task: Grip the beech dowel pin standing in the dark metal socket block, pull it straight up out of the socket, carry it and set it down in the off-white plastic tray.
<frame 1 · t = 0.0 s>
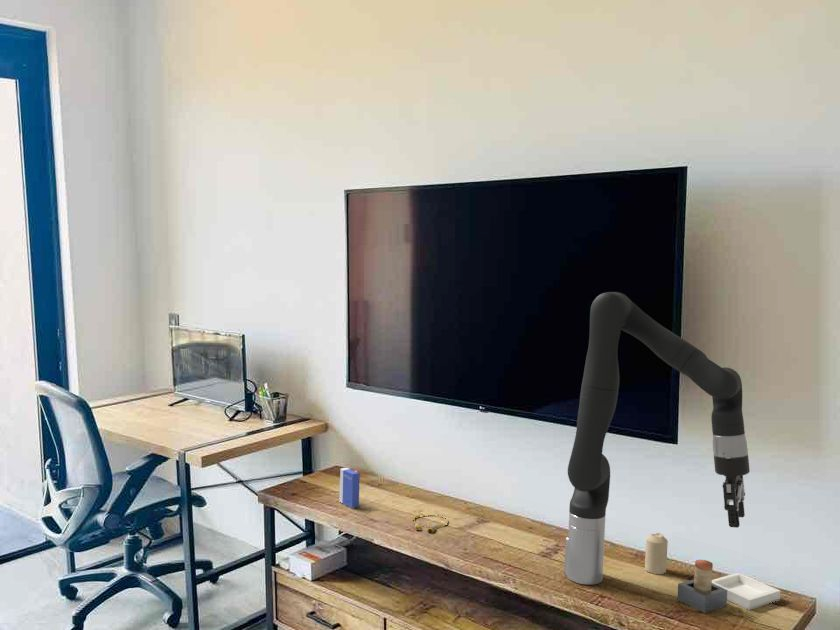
hand: (737, 521, 171), 22 cm above the table, tool pointing down, fingers open, 8 cm apart
walkman: (348, 505, 244), on the table
candle: (655, 571, 197), on the table
beaded necklace: (428, 525, 228), on the table
pin: (702, 582, 178), in the socket block
socket block: (701, 602, 178), on the table
tray: (742, 595, 183), on the table
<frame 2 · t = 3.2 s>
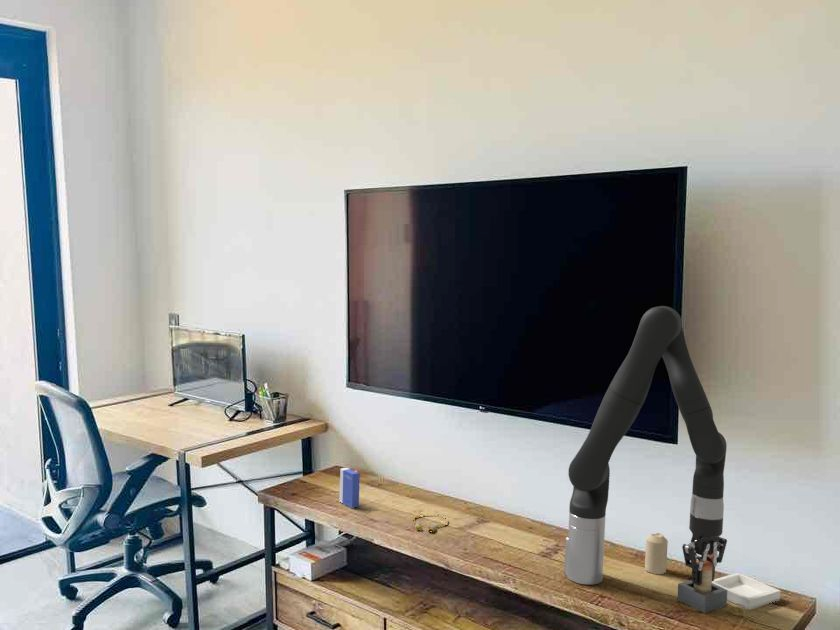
hand: (702, 581, 178), 5 cm above the table, tool pointing down, fingers closed on pin, 4 cm apart
pin: (702, 582, 178), in the socket block, touching gripper
everything else where it was.
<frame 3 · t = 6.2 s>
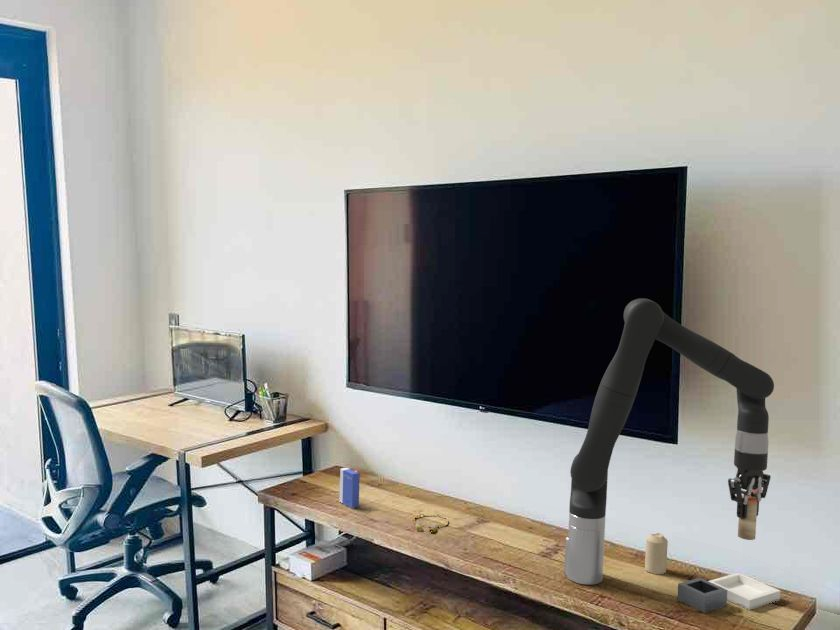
hand: (747, 516, 182), 20 cm above the table, tool pointing down, fingers closed on pin, 4 cm apart
pin: (747, 517, 182), point 20 cm above the table, touching gripper
everything else where it was.
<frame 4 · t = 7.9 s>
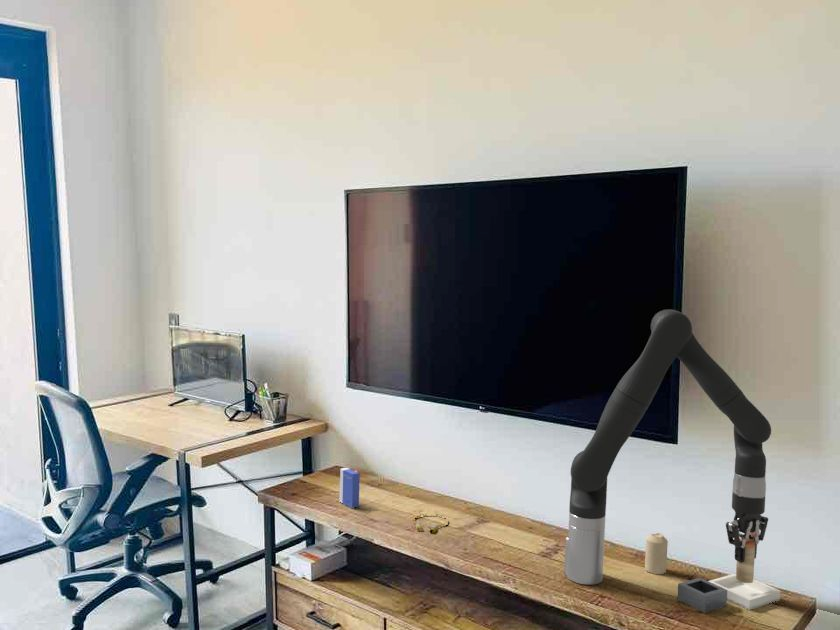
hand: (745, 559, 182), 9 cm above the table, tool pointing down, fingers closed on pin, 4 cm apart
pin: (745, 560, 182), point 9 cm above the table, touching gripper
everything else where it was.
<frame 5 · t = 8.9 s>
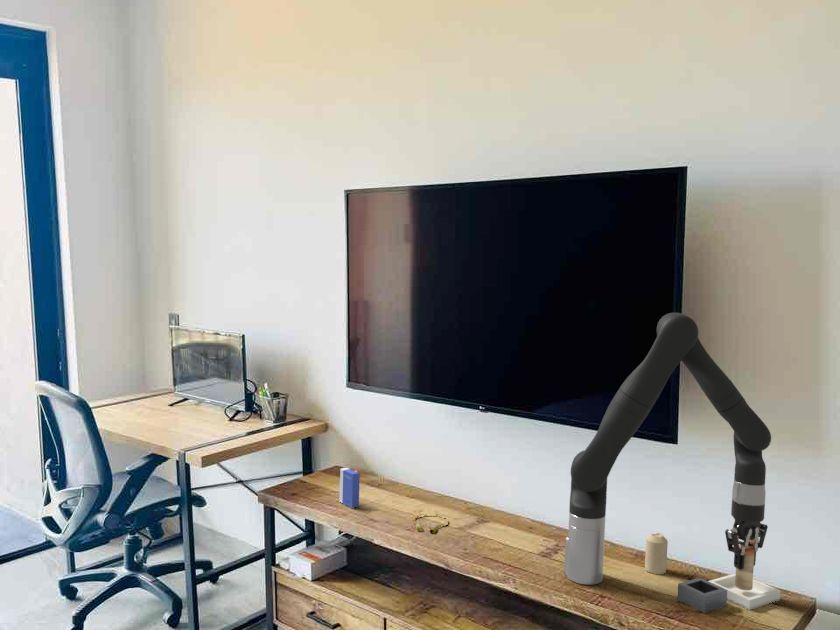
hand: (744, 566, 182), 7 cm above the table, tool pointing down, fingers closed on pin, 4 cm apart
pin: (744, 567, 182), point 7 cm above the table, touching gripper
everything else where it was.
when the fingers open (7 cm above the table, at t = 9.1 s): pin drops 2 cm, resting on tray.
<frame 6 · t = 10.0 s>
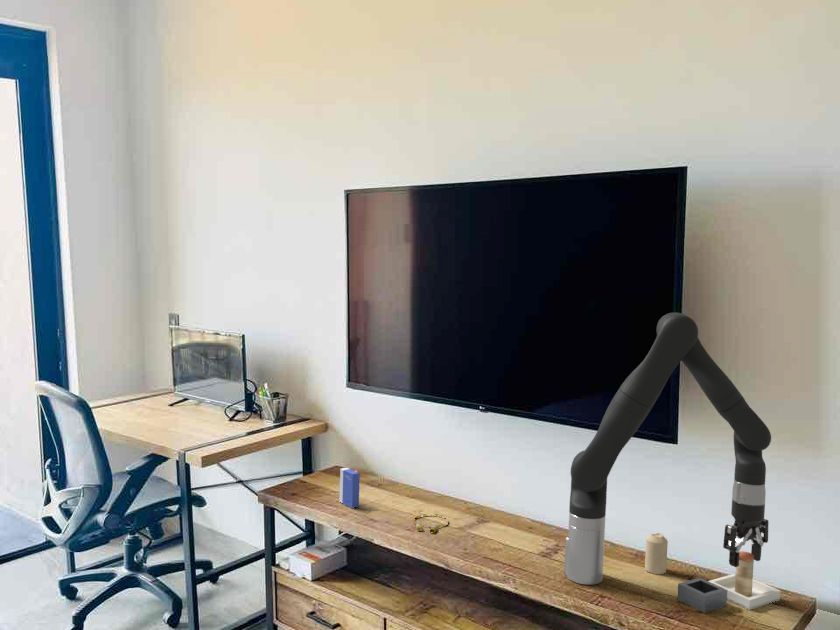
hand: (744, 562, 182), 8 cm above the table, tool pointing down, fingers open, 8 cm apart
pin: (744, 573, 182), in the tray, point 6 cm above the table
everything else where it was.
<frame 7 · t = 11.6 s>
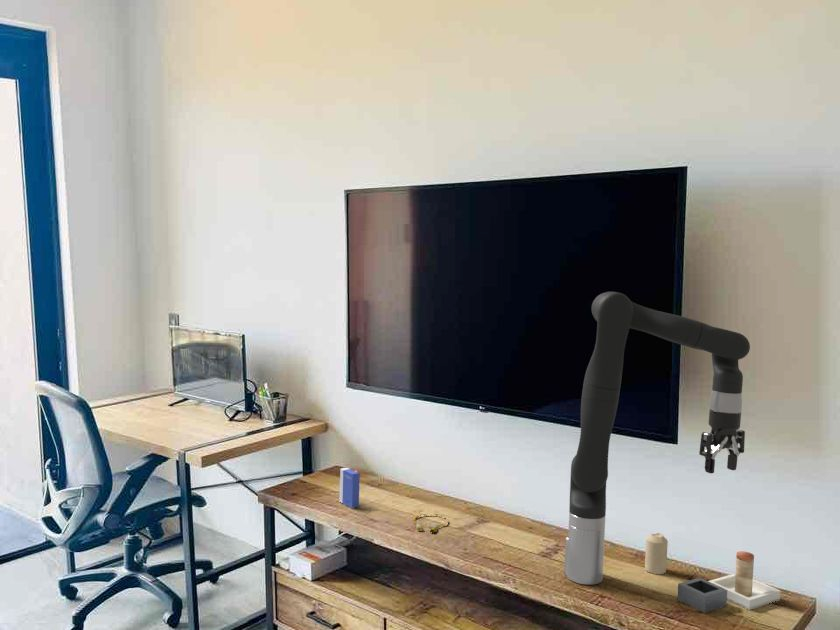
hand: (720, 471, 187), 30 cm above the table, tool pointing down, fingers open, 8 cm apart
nothing on the table moved.
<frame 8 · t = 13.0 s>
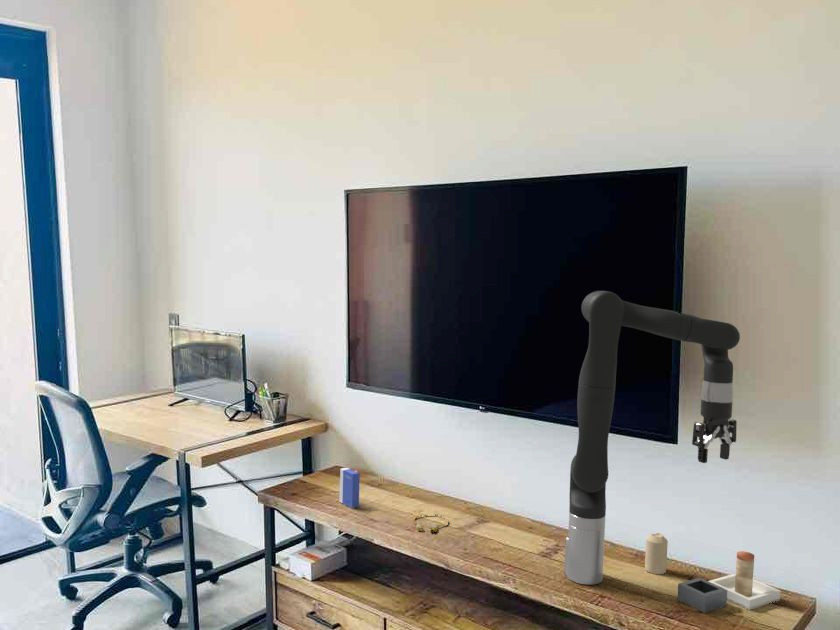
hand: (713, 460, 189), 32 cm above the table, tool pointing down, fingers open, 8 cm apart
nothing on the table moved.
at the end: pin inside the target area on the tray (0.1 cm from its centre), point 5.6 cm above the tray's base; pin touching tray; the gripper is holding nothing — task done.
